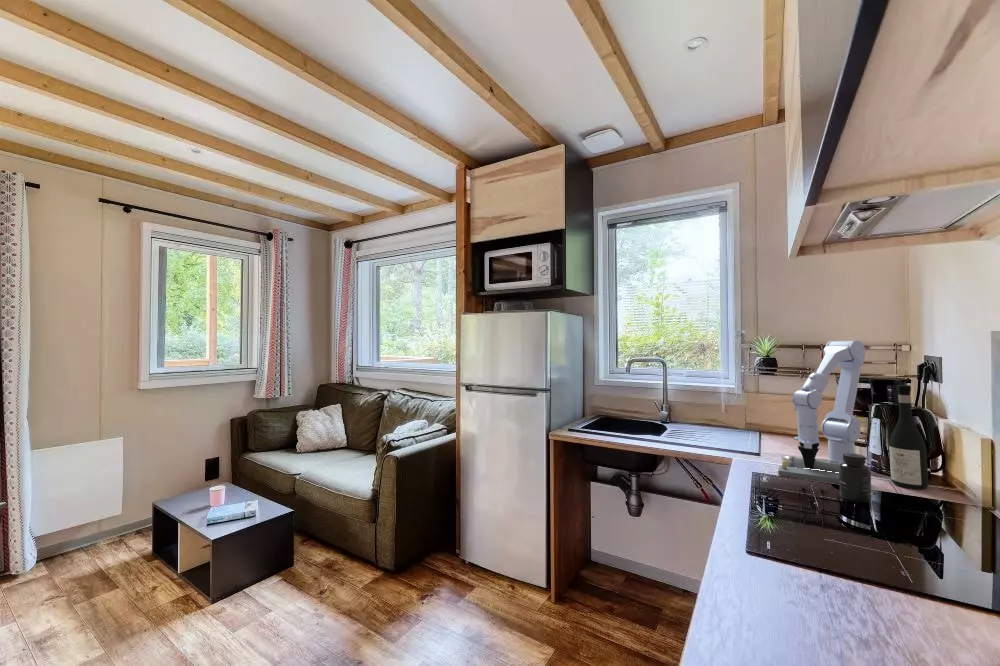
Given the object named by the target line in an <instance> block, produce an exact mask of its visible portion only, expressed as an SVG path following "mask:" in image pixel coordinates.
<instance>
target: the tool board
mask: <svg viewBox="0 0 1000 666" xmlns="http://www.w3.org/2000/svg"><path fill="white" fill-rule="evenodd" d="M781 464H782V465H780V466H779V467H778V471H777V474H778V475H777V476H781V475H783V476H782V477H790V478H797V479H802V480H804V479H805V480H811V481H820V482H824V483H825V482H826V483H832V484H833V483H834V484H839V473H835V472H827V471H819V470H811V469H803V468H795V467H787V466H786V461H782V460H781Z"/></svg>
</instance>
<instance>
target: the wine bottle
mask: <svg viewBox="0 0 1000 666" xmlns="http://www.w3.org/2000/svg"><path fill="white" fill-rule="evenodd" d="M911 390H912V387H911V385H909V384H898V385H896V391H897V394H898V395H897V396H898V410H899V412H898V414H899V415H898V419H897V422H896V424H895V427H894V430H893V431H892V434H891V435H890V439H889V446H888V448H889V450H888V451H889V464H890V468H889V469H890V479H891V482H892V483H893V484H894V485H896V486H898V487H902V488H907V489H911V488H912V489H913V490H924V489H927V488H928V487H929V475H928V474H929V473H928V470H929V469H928V459H927V458H928V454H927V447H926V443H925V440H924V439H923V436H922V434H921V433H920V431H919V429H918V428H917V425H916V423H915V422H914V419H913V416H912V415H913V414H912V402H911V401H912V399H911V398H912V397H911Z"/></svg>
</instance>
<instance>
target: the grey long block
mask: <svg viewBox="0 0 1000 666" xmlns="http://www.w3.org/2000/svg"><path fill="white" fill-rule="evenodd" d="M781 458H782V459H781V462H782V461H786V466H787V467H796V468H806V467H805V464H804V460H803V457H801V456H793V455H782V456H781ZM810 469H812V468H810ZM813 469H820V470H825V471H832V472H839V462H838V461H835V460H828V459H823V458H822V459H820V458H819V459H818V458H815V462H814V467H813Z"/></svg>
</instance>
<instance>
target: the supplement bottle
mask: <svg viewBox="0 0 1000 666" xmlns="http://www.w3.org/2000/svg"><path fill="white" fill-rule="evenodd" d="M843 461H844V463H841V464H840V465H839V483H838V484H839V495H840V497H841V498H842V499H844V500H847V501H850V502H854V501H855V503H862V502H866V503H870V502H872V498H873V497H872V495H873V494H872V493H873V492H872V473H871V469H870V467H869V466H867V465H866V463H867V461H866V456H865V455H863V454H859V453H855V454H853V453H844V454H843Z"/></svg>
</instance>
